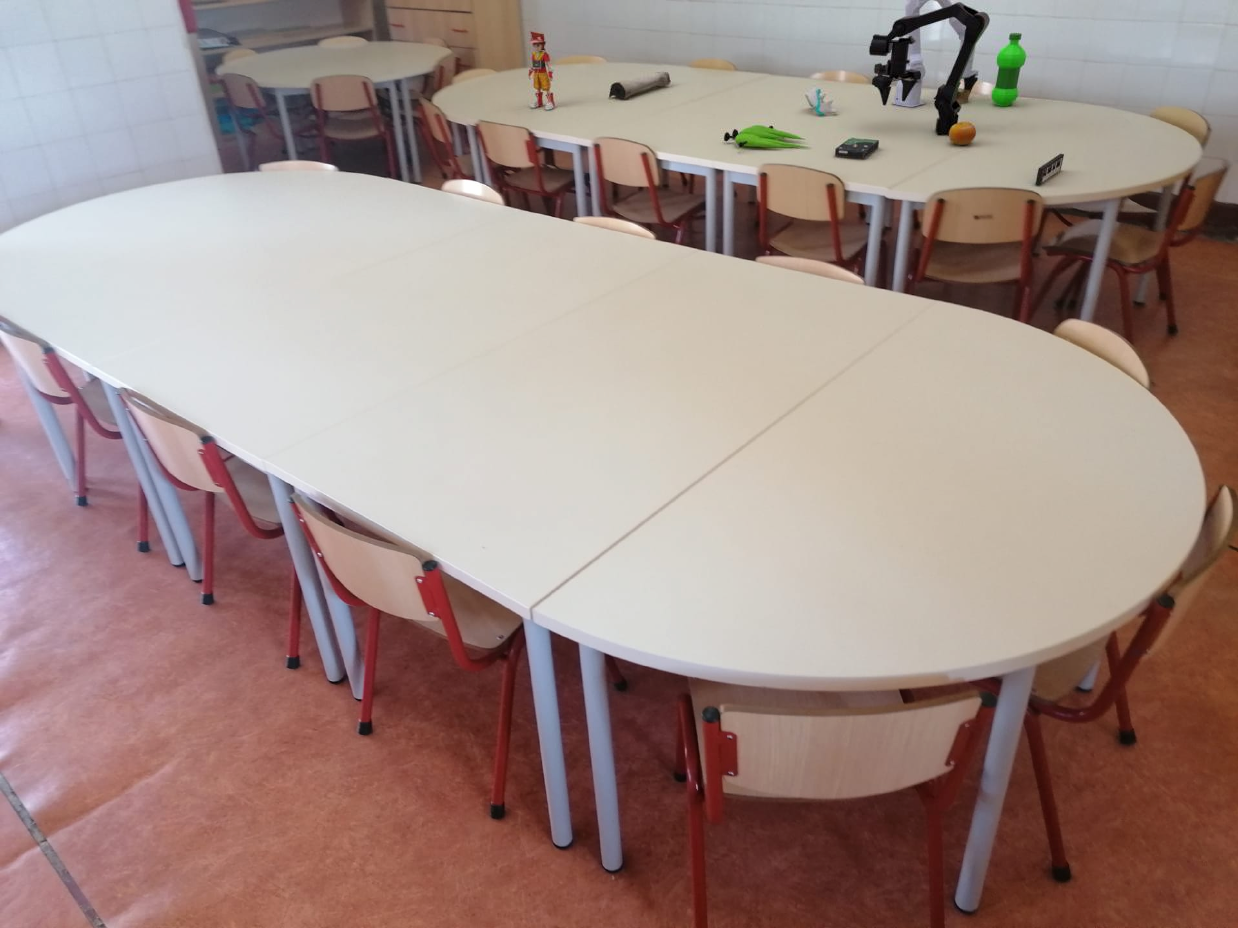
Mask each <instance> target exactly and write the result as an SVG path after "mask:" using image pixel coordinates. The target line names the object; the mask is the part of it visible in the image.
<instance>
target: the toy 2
mask: <svg viewBox="0 0 1238 928" xmlns="http://www.w3.org/2000/svg"><path fill="white" fill-rule="evenodd" d="M730 139H734V142H735V143H736V144H737V145H738V147H739V148H743V147H752V148H753V147H758V148H762V147H763V148H807V146H806V145H800V144H796V143H790V142H786V141H782V140H783V139H791V140H804V141H806V138H804V137H801V136H798V135H796V134H792V133H789V132H787V131H782V130H778V129H775V128H774V126H773V125H769V126H768V127H767V126H765V125H762V124H761V125H760V124H757V125H752V126H748V127H745V128H743V129H741V131H738V129H737V128H734V129H733V130H732V133H731V134H730V133H729V132H728V131H726V132H725V133H724V136H723V141H724V142H728V141H730Z"/></svg>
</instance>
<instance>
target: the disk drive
mask: <svg viewBox="0 0 1238 928" xmlns="http://www.w3.org/2000/svg"><path fill="white" fill-rule="evenodd" d="M879 145H880V140H879V139H870V138H869V139H868V138H855V137H850V138H848V139H846V140H845V141H844V142H843V143H841V144H840V145H838V146H837V147H835V151H834V156H836V157H842V158H849V159H865V158H867V157H868V156H870V155H871V154H872V153H873V152H875V151H876V150H877V149H878V148H879Z"/></svg>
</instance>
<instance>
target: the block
mask: <svg viewBox="0 0 1238 928" xmlns="http://www.w3.org/2000/svg"><path fill="white" fill-rule="evenodd" d="M969 93H970V90H966V89H964V88H962V87H959V88H958V94H957V98H956V100H957V102H958V103H959V104H960V105H962V104H965V103H969V98H970V95H969ZM970 94H971V93H970Z"/></svg>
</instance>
